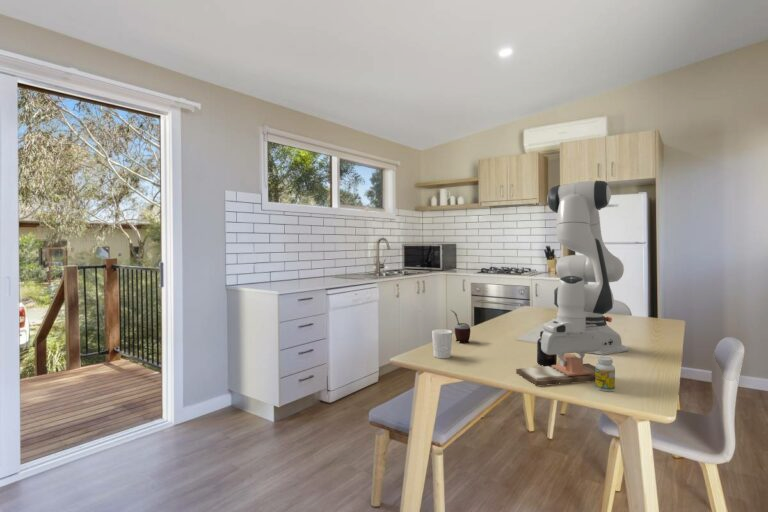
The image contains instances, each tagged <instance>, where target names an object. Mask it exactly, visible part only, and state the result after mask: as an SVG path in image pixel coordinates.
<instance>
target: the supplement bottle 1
mask: <svg viewBox="0 0 768 512" xmlns="http://www.w3.org/2000/svg"><path fill="white" fill-rule="evenodd" d="M544 331H545V330H541V331H540V332H539V333H540V334H539V337H540V338H538V339H537V342H536V343H537V344H536V362H537V363H536V364H537V365H539V364H540V366H542V365H543V366H542V367H545V366H552V365H558V362H557V361H558V360H557V358H558V356H557V354H551V355H548V354H546V353H544V352H543V351H542V350H541V339H542V334H543V332H544Z"/></svg>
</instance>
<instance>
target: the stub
mask: <svg viewBox="0 0 768 512" xmlns="http://www.w3.org/2000/svg"><path fill="white" fill-rule="evenodd" d="M563 358H564V360H565V361H567V366H564V367H562V366H561V365H560V360H559V359H558V362H559V363H558V364H556V365H552V367H553V368H555V369H557V370H559V371H561V372H563V373H565V374H567V375H568V376H576V375H588V374H591V372H589V371H587V370H585V369H583V364H584V358H583V359H581V358H578V356H577V355H576V356H575V355H573V354H572V353H565V354H564V357H563Z"/></svg>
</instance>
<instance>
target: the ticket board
mask: <svg viewBox="0 0 768 512" xmlns="http://www.w3.org/2000/svg"><path fill="white" fill-rule="evenodd" d="M595 366H596V365H593V364H590V363H583V369H585V370H587V371H589V372H591V374H588V375H576V376H568V375H567V374H565V373H563V372H561V371H559V370H557V369H555V368H553V367H552V366H535V367H534V366H533V367H521V368H516V369H515V371H516V372H515V373H516V374H517V375H518V374H519V375H518V376H520V377H521V376H522V378H523V379H525V380H526V381H527V382H529V383H531V384H532V383H533V384H532V385H534V384H535V385H534V386H536V387H538V386H537V385H544V386H548V385H547V384H555V385H560V384H559V383H567V384H573V383H572V382H579V383H587V381H590V382H595Z"/></svg>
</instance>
